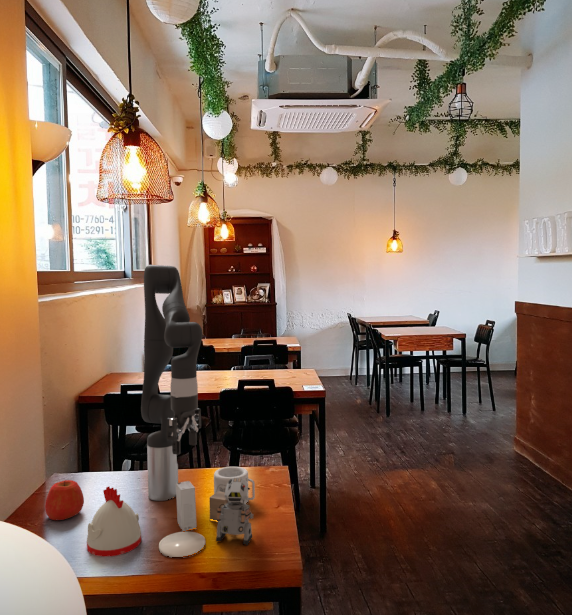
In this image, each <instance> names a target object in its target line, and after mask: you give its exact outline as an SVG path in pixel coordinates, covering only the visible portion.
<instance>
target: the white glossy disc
mask: <svg viewBox="0 0 572 615" xmlns="http://www.w3.org/2000/svg"><path fill="white" fill-rule="evenodd" d="M204 545H205V546H206V538H205V536H203V535H202V534H200V533H198V532H195V531H185V532H183V531H178V532H173V533H170V534H168V535H166V536H164V537H163V538H162V539H161V540H160V541H159V544H158V551H159V554H161V553H162V555H163V556H165V557H167V556H169V557H168V558H172V557H183V556H188V555H192V554H194V553H197V552H198V551H200V550H201V549H202V548H203V547H204ZM204 548H205V547H204ZM204 548H203V549H204ZM200 552H201V551H200ZM197 554H198V553H197ZM192 556H193V555H192ZM183 558H184V557H183Z"/></svg>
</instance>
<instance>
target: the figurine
mask: <svg viewBox="0 0 572 615" xmlns="http://www.w3.org/2000/svg"><path fill="white" fill-rule="evenodd" d="M250 489H251V488H250V487H249V483H248V484H247V483H246V482H245V481H244V480H243V479H242V478H233V479H230V480H229V482H228V484H227V486H226V490H225V494H224V495H225V498H226V500H228V503H227V504H221V505H223V506H221V505H220V506H221V508H220V506H219V508H218V510H217V521H218V522H217V526H216V537H215V542H217V541H221V542H222V541H223V539H224V538H225V537H226V535H233V536H239V535H243V541H242V545H243V544H246V545H245V546H248V545H249V544H250V542H251V541H252V539H251V538H253V532H252V523H251V522H249V521H250V520H249V519H254V513H252V511H251V505H250V504H244V501H245V499H246V497H247V492H248V493H249V490H250ZM242 500H243V503H242V502H241V501H242ZM224 536H225V537H224ZM250 540H251V541H250ZM249 541H250V542H249ZM248 543H249V544H248Z"/></svg>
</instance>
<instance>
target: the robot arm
mask: <svg viewBox="0 0 572 615" xmlns="http://www.w3.org/2000/svg"><path fill="white" fill-rule="evenodd" d="M182 286H183V285H182V282H181V275H180V272H179V270H178V268H177V267H176V266H173V265H162V264H161V265H159V264H147V265H146V266H145V268H144V272H143V294H144V295H143V296H144V335H143V358H144V360H143V380H142V381H143V382H142V393H141V403H140V404H141V405H140V412H141V413H140V414H141V418H142V419H143V421H144V422H146V423H150V424H151V423H152V424H161V426H160V429H159V430H158V431H155V432H151V433H150V434H149V435H147V439H146V443H147V444H146V448H147V454H146V455H147V488H148V490H147V493H148V494H147V495H148V496H147V497H148V499H149V500H152V501H155V502H156V501H157V502H164V501H168V499H169V500H172V499H174V498H176V483H179V464H178V461H177V456H178V455H180V454H181V453H182V452H181V447H182V446H181V444H182V443H181V439H182V435H183V434H184V433H185V431H186V430H188V444H189V445H190V446H196V445H198V444H197V443H198V442H197V441H198V432H199V429H201V428H202V414H201V413H202V409H201V408H199V405H198V404H199V403H198V402H199V400H198V399H199V397H198V396H199V394H198V392H199V391H198V387H199V386H198V378H197V376H198V375H197V370H198V369H197V364H198V363H197V362H198V360H197V359H198V355H199V351H200V348H201V344H202V340H203V328H202V326H201V325H200V324H199V323H198V322H194V321H190V320H191V317H190V314H189V311H188V309H187V306H186V304H185V303H186V302H185V300H184V293H183V287H182ZM156 294H163V295H164V294H165V295H166V294H168V295H167V297H166V298H165V299H164V300H163V303H162V307H161V308H162V309H161V310H162V312H161V310H160V308H159V306H158V303H157V300H156ZM178 348H179V349H180V348H187V350H186V351H185V353H183V354H180V355H176V356H173V353H174V349H178ZM169 363H170V365H171V366H170V377H171V380H170V394H159V392H158V390H159V383H160V378H161V376H162V374H163V373H164V371H165V369H166V368H167V366H168V365H169ZM173 497H174V498H173ZM171 498H172V499H171Z"/></svg>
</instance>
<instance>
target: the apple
mask: <svg viewBox="0 0 572 615" xmlns="http://www.w3.org/2000/svg"><path fill="white" fill-rule="evenodd" d="M84 504H85V498H84V493H83V491H82V488H81V487H80V485H79V483H78V482H77V481H75V480H71V479H68V480H67V479H65V480H61V481H57V482H56V483H54V484H52V486H51V487H50V489H49V491H48V493H47V495H46V498H45V505H44V506H45V507H44V508H45V514H46V515H47V517H48V518H49V519H50V520H52V521H61V520H63V521H64V520H66V519H70V518H72V517H74V516H77V515H78V514H80V512H81V511H82V510H83V506H84Z"/></svg>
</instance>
